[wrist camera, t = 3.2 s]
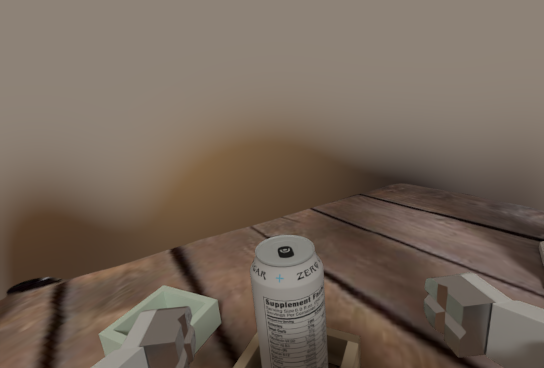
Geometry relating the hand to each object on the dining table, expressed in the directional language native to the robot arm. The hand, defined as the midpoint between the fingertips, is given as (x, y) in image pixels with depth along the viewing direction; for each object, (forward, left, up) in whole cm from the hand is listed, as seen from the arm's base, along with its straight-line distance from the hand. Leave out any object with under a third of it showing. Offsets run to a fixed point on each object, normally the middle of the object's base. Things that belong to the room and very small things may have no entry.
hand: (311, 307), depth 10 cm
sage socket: (-11, -23, -19) cm, 32 cm away
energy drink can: (-11, -6, -19) cm, 23 cm away
